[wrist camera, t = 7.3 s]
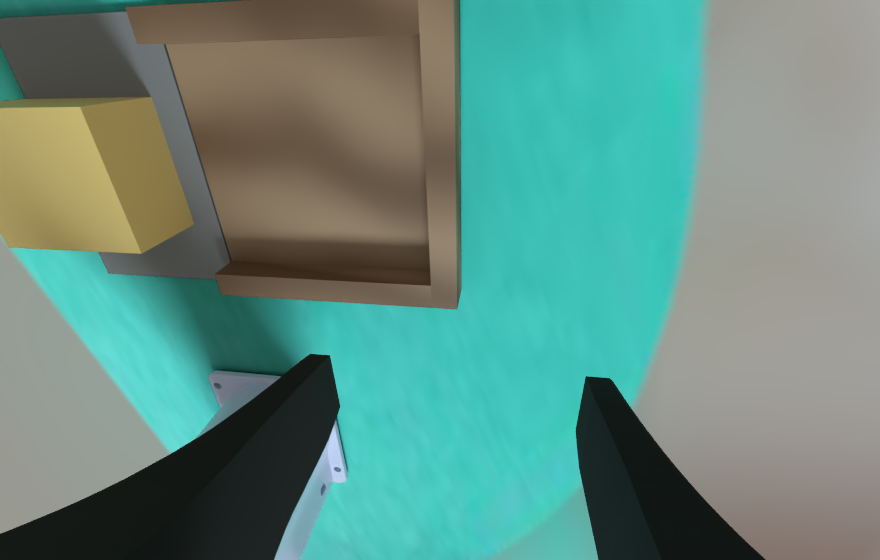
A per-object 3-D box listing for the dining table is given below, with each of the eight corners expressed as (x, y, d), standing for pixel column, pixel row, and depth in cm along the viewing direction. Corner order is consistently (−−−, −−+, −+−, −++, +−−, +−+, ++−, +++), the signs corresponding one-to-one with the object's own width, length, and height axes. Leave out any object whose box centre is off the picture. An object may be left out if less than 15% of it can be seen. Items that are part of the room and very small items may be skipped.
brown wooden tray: (461, 290, 21) (457, 309, 20) (240, 278, 23) (221, 294, 21) (460, -5, 15) (453, -11, 13) (160, 10, 17) (124, 6, 15)
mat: (239, 277, 23) (236, 280, 23) (113, 271, 24) (108, 273, 24) (158, 10, 17) (153, 10, 17) (-5, 19, 18) (-13, 18, 18)
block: (194, 224, 21) (141, 253, 18) (77, 220, 22) (8, 247, 19) (151, 96, 18) (79, 107, 15) (18, 98, 19) (-73, 108, 16)
